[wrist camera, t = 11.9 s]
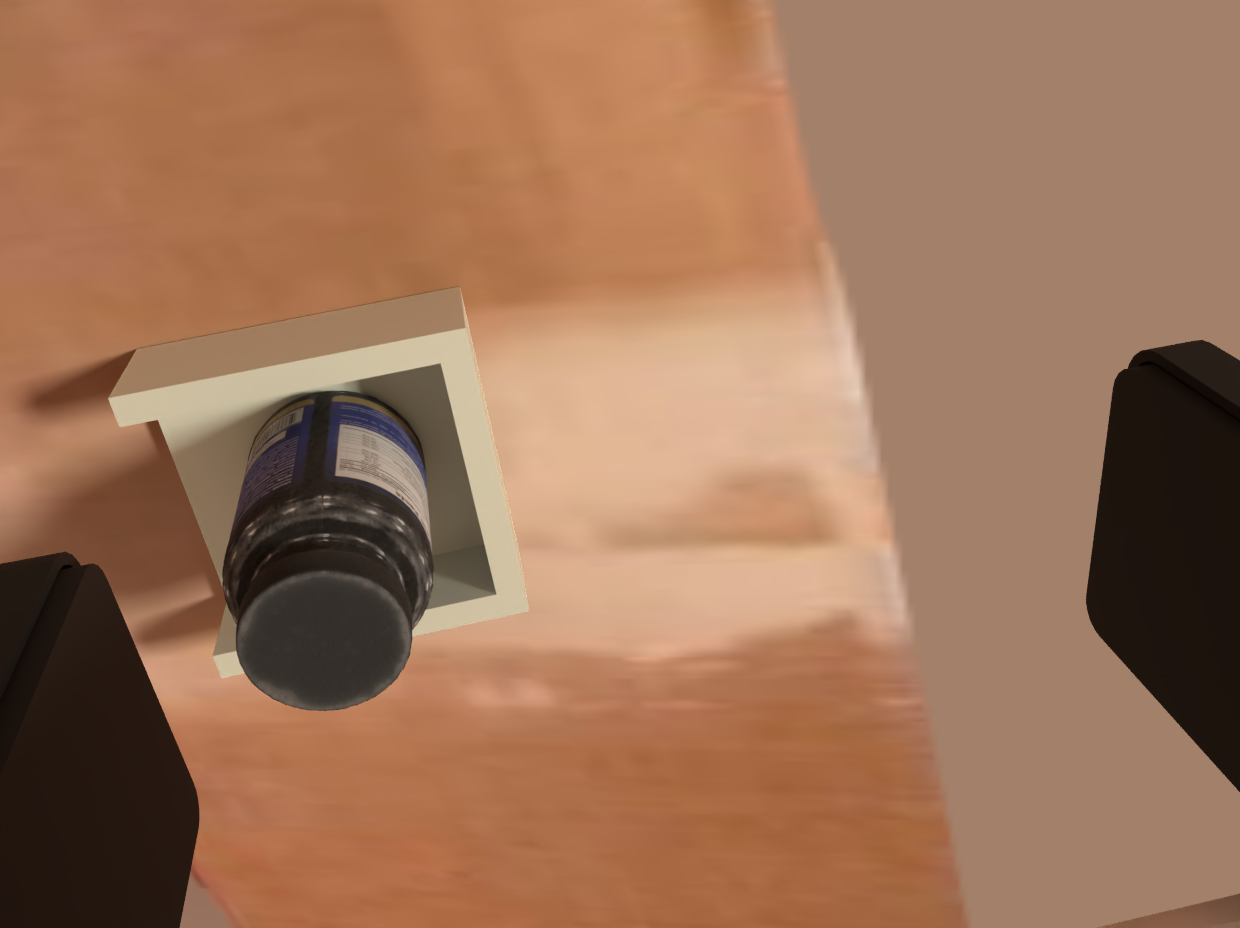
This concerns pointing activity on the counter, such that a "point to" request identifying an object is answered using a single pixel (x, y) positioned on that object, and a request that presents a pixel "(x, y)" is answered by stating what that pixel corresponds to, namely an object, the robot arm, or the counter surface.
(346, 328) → the holder
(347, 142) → the counter surface
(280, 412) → the pill bottle
